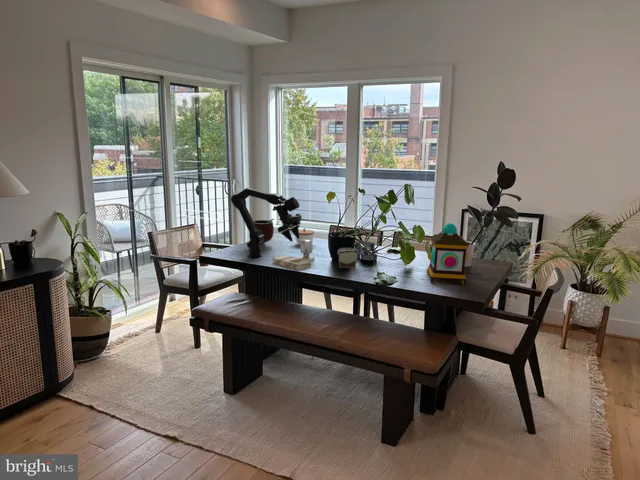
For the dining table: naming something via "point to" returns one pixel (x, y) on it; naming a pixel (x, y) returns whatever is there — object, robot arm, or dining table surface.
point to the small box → (358, 246)
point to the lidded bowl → (304, 235)
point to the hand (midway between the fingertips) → (295, 239)
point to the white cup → (306, 247)
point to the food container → (347, 257)
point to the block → (311, 258)
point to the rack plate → (291, 262)
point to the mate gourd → (265, 231)
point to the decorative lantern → (447, 255)
